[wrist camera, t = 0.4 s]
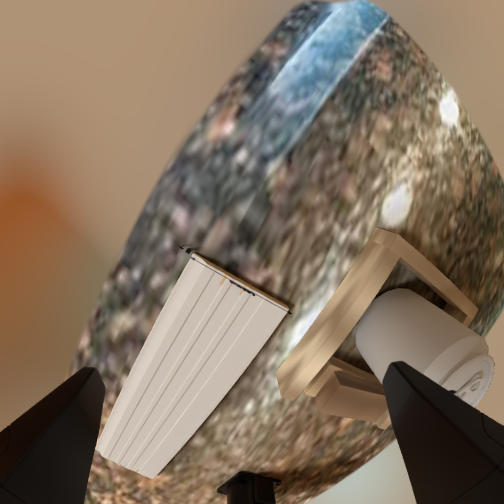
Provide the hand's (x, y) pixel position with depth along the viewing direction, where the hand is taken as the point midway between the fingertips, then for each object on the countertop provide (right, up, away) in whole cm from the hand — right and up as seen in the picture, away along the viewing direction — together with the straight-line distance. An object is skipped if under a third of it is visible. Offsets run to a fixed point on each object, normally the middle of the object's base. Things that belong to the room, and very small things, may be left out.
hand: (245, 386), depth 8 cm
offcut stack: (+9, -9, +17) cm, 21 cm away
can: (+13, -3, +17) cm, 21 cm away
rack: (+12, -4, +17) cm, 21 cm away
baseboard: (-9, -10, +18) cm, 22 cm away
